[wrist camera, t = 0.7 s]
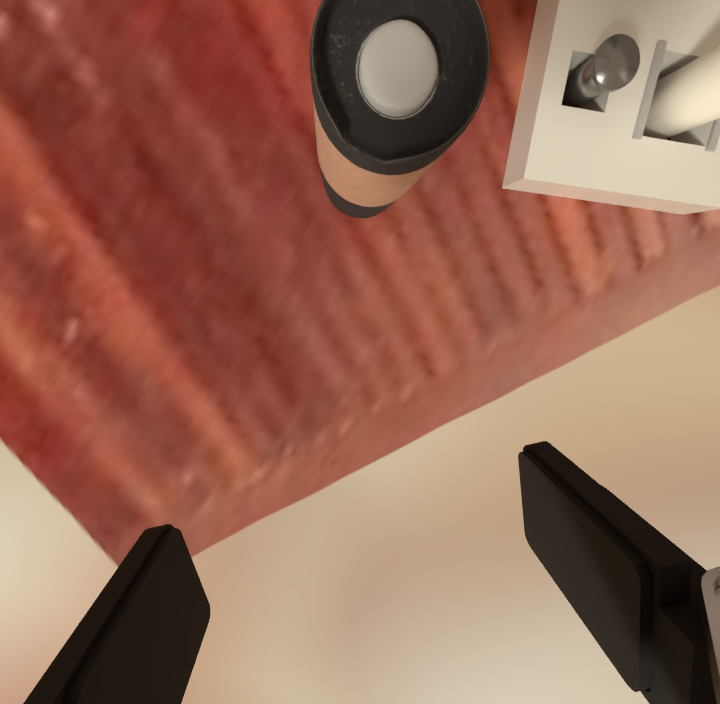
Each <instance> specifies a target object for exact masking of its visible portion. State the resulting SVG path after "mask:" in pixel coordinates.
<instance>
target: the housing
mask: <svg viewBox="0 0 720 704" xmlns="http://www.w3.org/2000/svg"><path fill="white" fill-rule="evenodd" d="M615 34H626V35H628V36H630V37H631V38H633V39H634V40H635V42H636V43H637V45H638V48H639V51H640V64H639V68H638V71H637V73H636V75H635V77H634V78H633V79H632V81H631V82H630V83H629V84H627V85H626V86H624V87H623V88H621V89H619V90H617V91H613V92H605V93H603V94H602V95H600V96H599V97H597V98H596V99H594V100H592V101H591V102H589V103H588V104H586V105H584V106H583V107H581V108H575V107H569V106H563V105H561V104H562V99H563V95H564V90H565V85H566V81H567V78H568V77H569V76H570V75H571V74H573V73H574V72H575V71H576V70H578V69H579V68H580V67H581V66H583V65H584V64H585V63H586V62H588V61H589V60H590V59H591V58H593V55H594V53H595V51H596V50H597V48H598V47H599V46H600V45H601V44H602V43H603V42H604V41H605V40H606V39H608V38H609V37H611V36H613V35H615ZM718 46H720V0H538V1H537V7H536V12H535V17H534V22H533V28H532V33H531V38H530V44H529V49H528V54H527V59H526V65H525V70H524V75H523V81H522V86H521V91H520V96H519V102H518V107H517V112H516V118H515V123H514V128H513V133H512V139H511V144H510V149H509V155H508V160H507V165H506V170H505V176H504V181H503V186H502V188H504V189H511V190H518V191H525V192H532V193H539V194H546V195H552V196H559V197H566V198H573V199H580V200H587V201H594V202H601V203H607V204H614V205H621V206H628V207H635V208H642V209H649V210H656V211H662V212H669V213H676V214H689V213H696V212H703V211H710V210H716V209H720V118H719V119H717V120H714V121H711V122H709V123H706V124H703V125H701V126H698V127H696V128H693V129H690V130H688V131H685V132H683V133H680V134H677V135H675V136H672V137H671V139H670V141H669V140H663V139H657V138H652V137H646V136H643V132H644V128H645V125H646V121H647V117H648V113H649V110H650V106H651V102H652V98H653V95H654V91H655V87H656V83H657V81H659V80H660V79H662V78H664V77H666V76H667V75H669V74H671V73H673V72H674V71H676V70H678V69H680V68H682V67H683V66H685V65H687V64H689V63H690V62H692V61H694V60H696V59H697V58H699V57H701V56H703V55H704V54H706V53H708V52H710V51H711V50H713V49H715V48H717V47H718Z"/></svg>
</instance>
